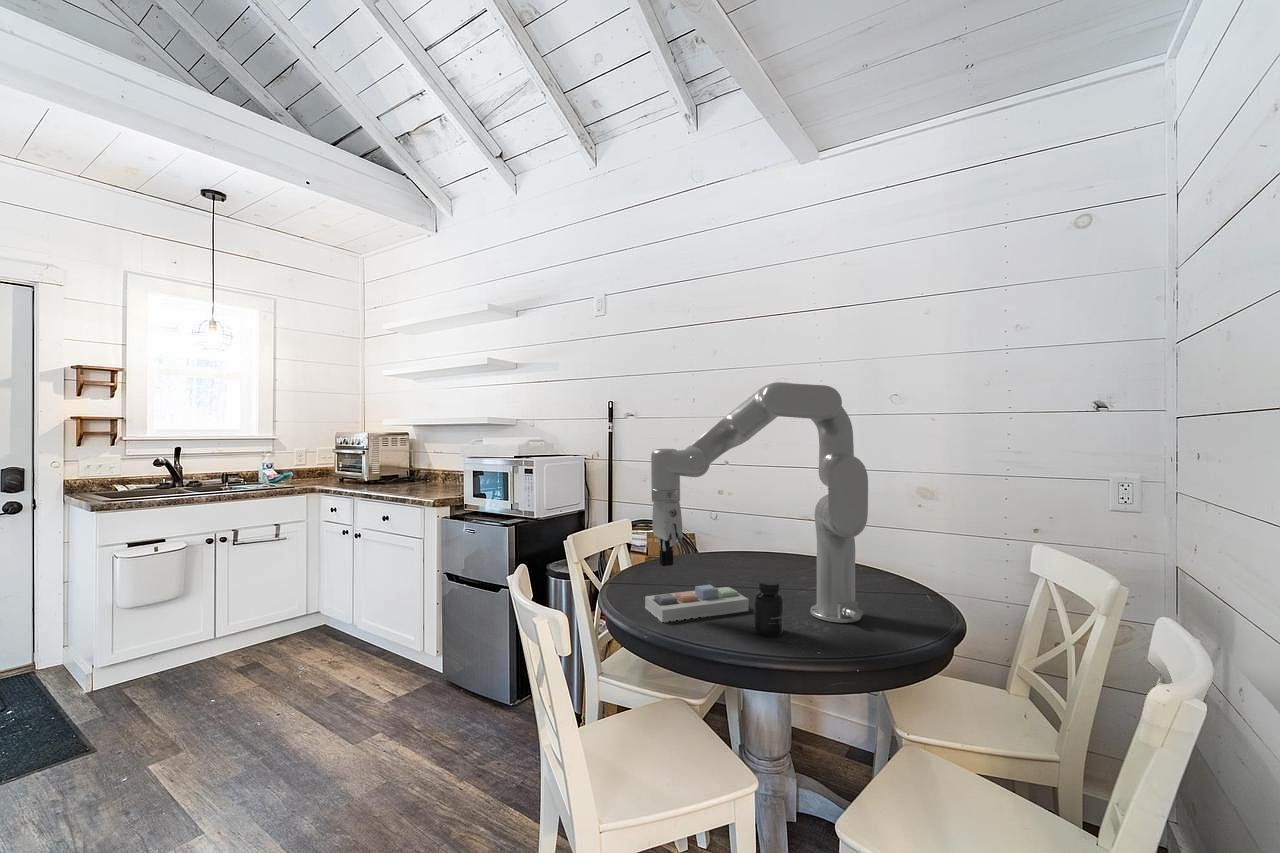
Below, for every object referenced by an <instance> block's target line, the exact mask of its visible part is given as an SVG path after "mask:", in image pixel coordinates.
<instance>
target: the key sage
mask: <svg viewBox="0 0 1280 853" xmlns="http://www.w3.org/2000/svg"><path fill="white" fill-rule="evenodd" d="M725 587H726V588H721V587H717V588H718V596H719V597H721V598H728V597H736V596H738V593H739V592H738V591H737V590H736V589H733V588H732V587H730V586H728V587H727V586H725Z"/></svg>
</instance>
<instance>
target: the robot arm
mask: <svg viewBox="0 0 1280 853" xmlns="http://www.w3.org/2000/svg"><path fill="white" fill-rule="evenodd" d="M842 401H843V400H842V397H841V394H840V392H839V391H838V390H836V388H834V387H833V386H829V385H824V384H808V383H807V384H806V383H804V384H803V383H790V382H778V381H777V382H772V383H771V382H770V383H769V384H766V385H764V386H762V387H761V388H760V389H758V390H757V391H756V392H755V393H753V394H752V395H751V396H750V397H748V398H747V399H746V400H744V401H743V402H742V403H741V404H739V405H738V406H737V407H736V408H735V409H733V410H732V411H731V412H729V413H728V414H727V415H726V416H724V417H723V418H722V419H721V420H720V421H719V422H717V424H715V425H714V426H712V427H711V428H710V429H709V430H707V431H706V432H705V433H704V434H703V435H701V436H700V437H698V439H696V440H695V441H693V443H691V444H690V445H688V447H686V448H685V449H681V450H680V449H679V450H678V449H674V448H658V449H654V450H652V452H651V458H650V461H651V465H650V467H651V468H650V469H651V472H650V474H651V477H650V478H651V480H650V481H651V483H650V484H651V502H653V504H652V517H651V519H652V520H651V521H652V524H651V525H652V534H653V535H654V536H655V537H656V540H657V541H658V549H659V565H660V566H662V567H667V566H669V567H670V566H674V549H675V547H676V546H677V545H678V544H677V540H679V541H680V540H682V539H683V535H684V534H683V521H682V520H683V518H682V517H683V516H682V511H681V509H682V508H681V504H680V503H681V477H686V478H687V477H688V478H699V477H702V476H704V475H705V474H706V473H707V472H708V471H709V469H710V464H712V463H713V462H714V461H715V460H717V459H718V458H719V457H721V456H722V455H724V454H725V453H726V452H728V451H729V450H731V449H733V448H736V447H738V446H741V445H743V444H744V443H746V442H747V441H749V440H750V439H752V438H753V437H754V436H755V435H756V434H757V433H759V432H760V431H761V430H763V429H764V428H765V427H766V426H768V425H769V424H770V423H771V422H773V421H774V420H775V419H777V418H778V417H783V418H784V417H785V418H795V419H796V418H797V419H808V420H809V419H810V420H811V421H812V422H813V423H814V425H815V426H816V427H815V428H816V429H817V433H818V444H819V446H818V477H819V480H820V481H821V483H822V484H823V485H824V486H826V487H827V488H828V489H827V492H828V494H826V495H824V496H823V497H821V498H820V499H819V500H818V502H817V503H816V505H815V509H814V523H815V524H814V526H815V533H816V604H814V605H812V606H811V607H810V614H811V615H812V616H813V617H815V618H816V619H819V620H821V621H826V622H829V623H830V622H831V623H837V624H838V623H839V624H844V623H845V624H847V623H850V624H851V623H854V622H855V623H856V622H858V621H860V620H862V617H863V616H864V611H863V610H862V609H859V608H858V601H857V600H856V541H855V539H856V538H855V537H857V536H859V535H860V534H861V533H863V531H864V530H865V528H866V525H867V522H868V516H869V514H868V513H869V477H868V476H869V475H868V471H867V469H866V466H865V464H864V463H863V462H862V461H861V459H860V458H858V457H856V456H855V454H854V453H855V452H854V451H855V450H854V447H855V446H854V431H853V424H852V421H851V418H850V416H849V414H848V413H847V411H846V410H845V409H844V407H843V402H842Z"/></svg>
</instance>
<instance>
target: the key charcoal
mask: <svg viewBox="0 0 1280 853" xmlns="http://www.w3.org/2000/svg"><path fill="white" fill-rule="evenodd" d="M664 594H665V595H662V594H656V595H657V596H654V602H656V603H657V604H658V605H660V606H663V605H671V604H677V598H675V597H674V596H673V595H671V594H670V593H664Z"/></svg>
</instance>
